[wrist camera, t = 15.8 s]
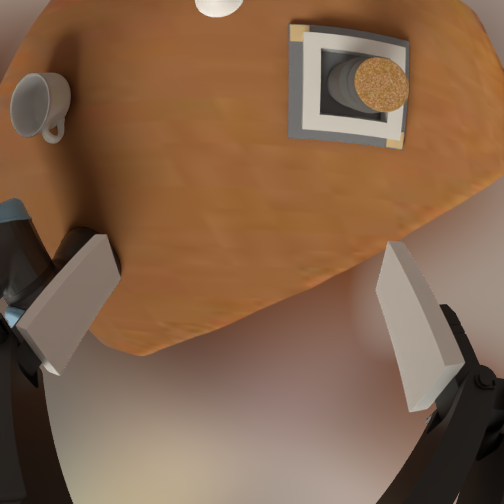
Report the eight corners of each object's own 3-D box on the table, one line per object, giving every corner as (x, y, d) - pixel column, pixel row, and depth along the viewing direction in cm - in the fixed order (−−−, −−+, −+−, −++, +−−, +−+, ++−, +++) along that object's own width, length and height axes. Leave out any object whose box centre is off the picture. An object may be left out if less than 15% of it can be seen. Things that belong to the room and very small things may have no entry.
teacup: (34, 91, 34) (3, 99, 27) (69, 57, 31) (36, 59, 24) (57, 150, 41) (28, 165, 34) (94, 122, 37) (62, 133, 31)
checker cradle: (288, 136, 36) (287, 142, 33) (288, 25, 27) (287, 18, 24) (400, 148, 34) (410, 155, 31) (406, 42, 25) (417, 38, 22)
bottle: (318, 72, 30) (335, 61, 17) (359, 58, 28) (399, 43, 15) (337, 112, 32) (364, 128, 20) (377, 98, 30) (425, 108, 18)
